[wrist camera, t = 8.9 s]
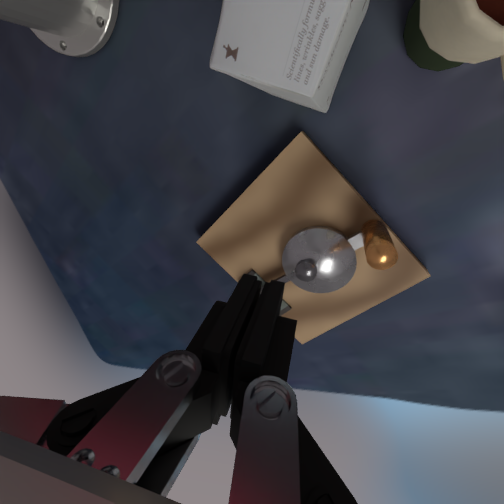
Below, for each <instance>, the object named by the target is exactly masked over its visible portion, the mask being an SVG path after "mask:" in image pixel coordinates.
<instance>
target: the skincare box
mask: <svg viewBox="0 0 504 504" xmlns="http://www.w3.org/2000/svg"><path fill="white" fill-rule="evenodd" d="M369 1H370V0H223V4H222V9H221V15H220V20H219V25H218V29H217V34H216V38H215V42H214V46H213V50H212V54H211V58H210V68H211V69H213V70H216V71H219V72H222V73H225V74H227V75H230V76H232V77H234V78H236V79H239V80H241V81H243V82H245V83H248V84H250V85H252V86H254V87H257V88H259V89H261V90H263V91H265V92H267V93H269V94H272V95H274V96H277V97H280V98H283V99H285V100H288V101H291V102H294V103H297V104H300V105H303V106H306V107H309V108H312V109H315V110H317V111H320V112H324V113H326V112H327V111H328V109H329V106H330V103H331V99H332V96H333V93H334V90H335V88H336V85H337V82H338V79H339V77H340V74H341V71H342V69H343V66H344V64H345V61H346V59H347V56H348V53H349V51H350V49H351V46H352V44H353V41H354V39H355V37H356V34H357V32H358V30H359V27H360V25H361V23H362V21H363V19H364V16H365V14H366V12H367V9H368V5H369Z"/></svg>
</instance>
